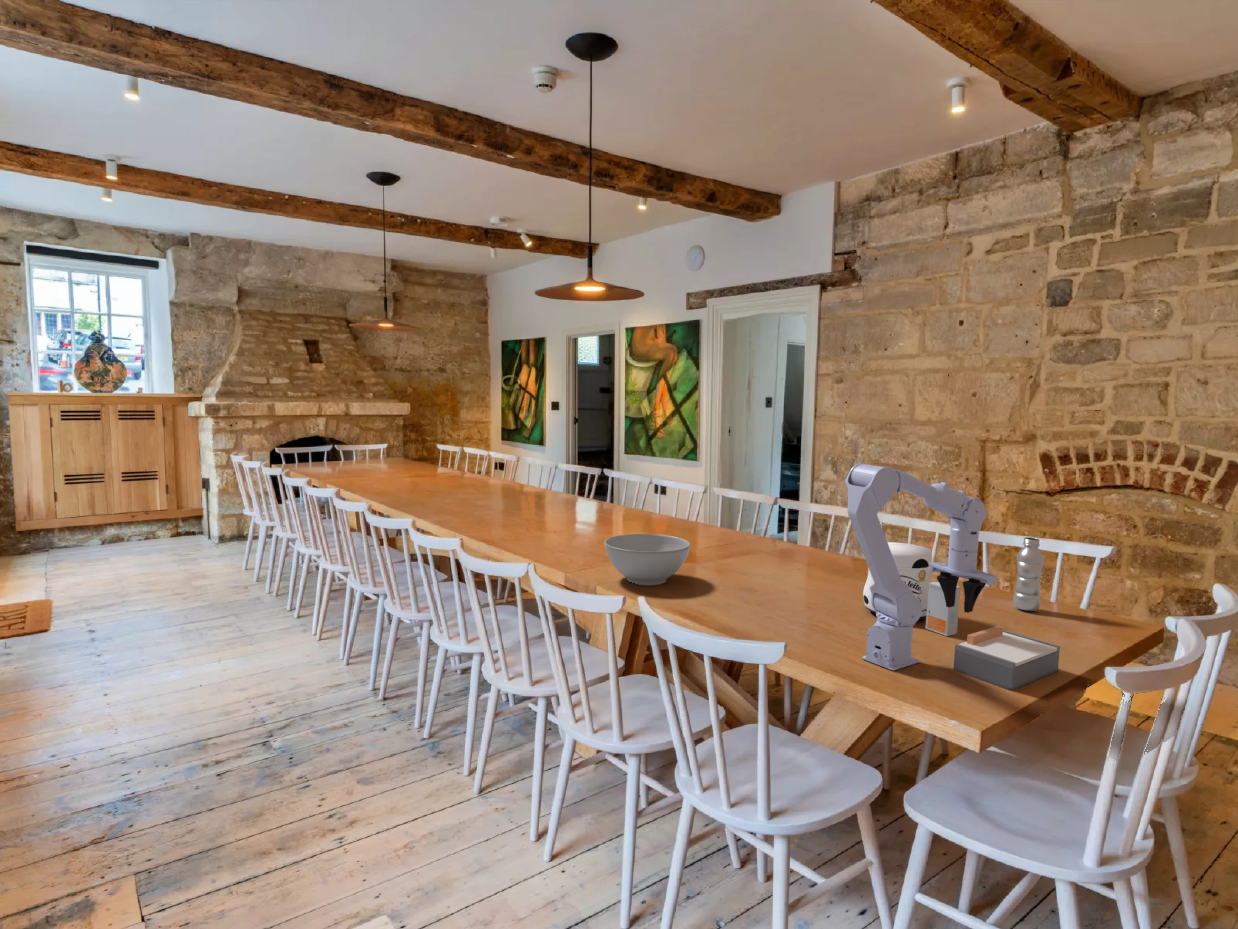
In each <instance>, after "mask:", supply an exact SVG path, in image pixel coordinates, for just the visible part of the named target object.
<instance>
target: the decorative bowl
mask: <svg viewBox="0 0 1238 929" xmlns="http://www.w3.org/2000/svg"><path fill="white" fill-rule="evenodd" d="M603 544H604V550H605V553H606V555H607V557H608V559H609V561H610V562H611V565H613V567H614V568H615V569H616V571H617V572H618V573H620V574H621V575H622V576H623V577H625V578H626V581H627V580H628V581H629V583H630V582H632V583H631V584H633V583H635V584H634V585H637V584H638V586H639V585H640V586H658V585H662V583H663V584H664V583H666V582H667V579H668V578H669V577H672V576H673V575H674V574H676V573H677V572H678V571H679V570H680V568H681V567H682V566H683V565H684V563H685V561H686V559H687V558H688V555H689V552H690V551H691V542H690V541H689V540H687V539H685V538H683V537H682V538H681V537H678V536H672V535H669V534H659V533H658V534H657V533H628V534H620V535H614V536H611V537H608V538H606V539H605V540H604V542H603ZM628 581H627V582H628Z"/></svg>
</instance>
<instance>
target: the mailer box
mask: <svg viewBox="0 0 1238 929" xmlns="http://www.w3.org/2000/svg"><path fill="white" fill-rule="evenodd" d="M1003 632H1005V633H1008V634H1012V635H1015V636H1019V637H1022V638H1026V639H1029V640H1032V641H1036V642H1039V643H1043V644H1046V645H1050V646H1053V647H1056V648H1057V651H1056V652H1053V653H1050V654H1048V655H1045V656H1043V657H1040V658H1037V659H1035V660H1032V661H1029V662H1027V663H1024V664H1022V665H1019V666H1015V662H1012V661H1009V660H1006V659H1003V658H1000V657H996V656H993V655H990V654H987V653H984V652H981V651H978V650H975V649H972V648H969V647H966V646H962V645H959V644H960V643H955V644H954V656H953V657H954V658H953V671H955V672H959V673H961V674H964V675H967V676H970V677H972V678H975V679H978V680H980V681H983V682H986V683H989V684H992V685H994V686H998V687H1000V688H1002V689H1005V690H1009V691H1010V692H1011V691H1012V692H1013V691H1014V690H1016V689H1019V688H1021V687H1023V686H1026V685H1030V684H1031V683H1033V682H1036V681H1038V680H1040V679H1042V678H1045V677H1048V676H1050V675H1053V674H1055V673H1058V672H1059V663H1060V662H1059V661H1060V650H1061V646H1060V645H1058V644H1054V643H1051V642H1048V641H1044V640H1042V639H1037V638H1034V637H1031V636H1026V635H1023V634H1020V633H1016V632H1013V631H1009V630H1006V629H1003Z"/></svg>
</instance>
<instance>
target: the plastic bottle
mask: <svg viewBox="0 0 1238 929" xmlns="http://www.w3.org/2000/svg"><path fill="white" fill-rule="evenodd" d="M1022 545H1023V547H1022V548H1021V549H1020V550H1019V551H1018V553H1017V554H1016V566H1017V574H1016V576H1017V579H1016V585H1015V591H1014V593H1013V597H1012V602H1013V606H1014V607H1015V608H1016V609H1019V610H1022V611H1025V612H1037V611H1038V610H1039V609H1040V607H1041V603H1042V601H1041V600H1042V599H1041V576H1042V571H1043V568H1044V563H1045V557H1044V554H1043V553H1042V551H1041V550H1040V549H1039V547H1040V539H1039V538H1036V537H1023V543H1022Z"/></svg>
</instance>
